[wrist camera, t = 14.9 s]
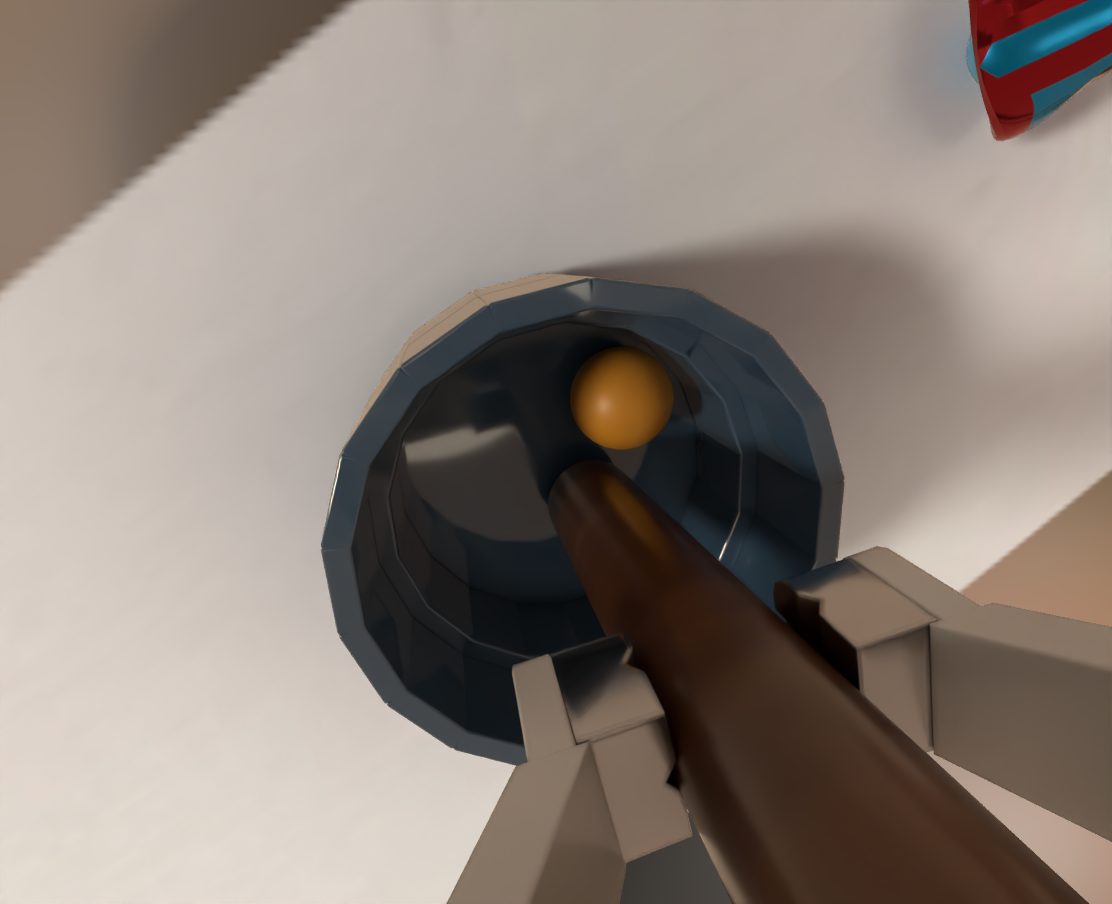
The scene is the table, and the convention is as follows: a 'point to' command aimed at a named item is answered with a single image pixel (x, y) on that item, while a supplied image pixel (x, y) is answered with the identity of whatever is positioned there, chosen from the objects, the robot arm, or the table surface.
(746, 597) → the stick
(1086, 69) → the hoverbike
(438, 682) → the bowl
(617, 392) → the bead
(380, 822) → the table surface
